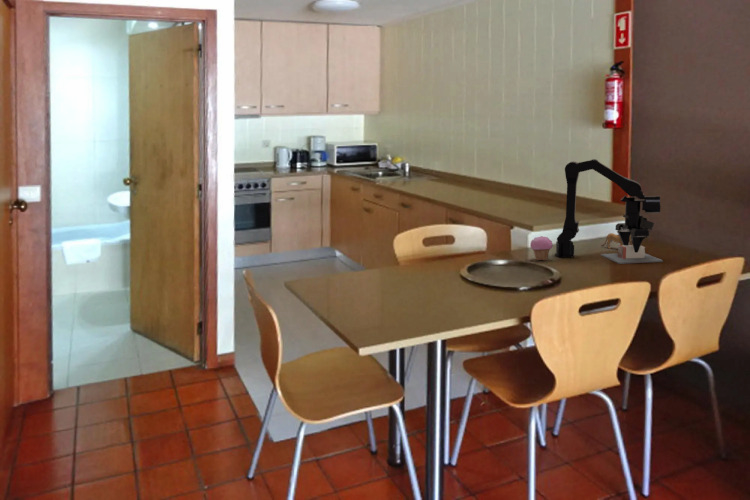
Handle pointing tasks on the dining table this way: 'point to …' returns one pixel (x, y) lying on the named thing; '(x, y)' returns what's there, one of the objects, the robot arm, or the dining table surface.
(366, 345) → the dining table surface
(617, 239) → the lion figurine
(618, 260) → the mat
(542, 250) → the cupcake
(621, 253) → the beige rectangular block
